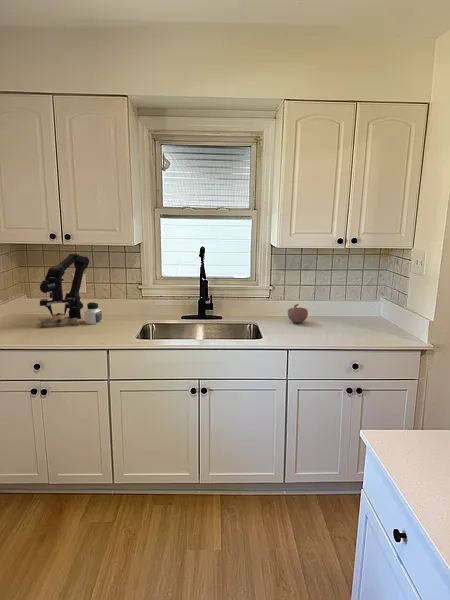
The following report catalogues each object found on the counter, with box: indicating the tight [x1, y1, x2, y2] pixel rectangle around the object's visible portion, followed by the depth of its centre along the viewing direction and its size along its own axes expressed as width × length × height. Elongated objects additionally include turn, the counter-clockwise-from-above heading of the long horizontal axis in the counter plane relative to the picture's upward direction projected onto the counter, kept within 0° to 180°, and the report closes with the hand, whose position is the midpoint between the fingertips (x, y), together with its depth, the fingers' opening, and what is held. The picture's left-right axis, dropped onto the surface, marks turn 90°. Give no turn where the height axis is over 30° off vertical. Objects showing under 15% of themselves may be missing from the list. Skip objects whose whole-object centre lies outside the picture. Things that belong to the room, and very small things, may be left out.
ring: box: [52, 312, 66, 320], centre depth 238 cm, size 6×6×2 cm
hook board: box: [39, 312, 79, 329], centre depth 238 cm, size 20×12×6 cm, turn 110°
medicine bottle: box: [84, 301, 103, 325], centre depth 242 cm, size 7×7×12 cm
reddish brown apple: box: [287, 303, 309, 324], centre depth 247 cm, size 12×12×11 cm
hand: (58, 316), depth 238 cm, fingers closed on ring, 6 cm apart
